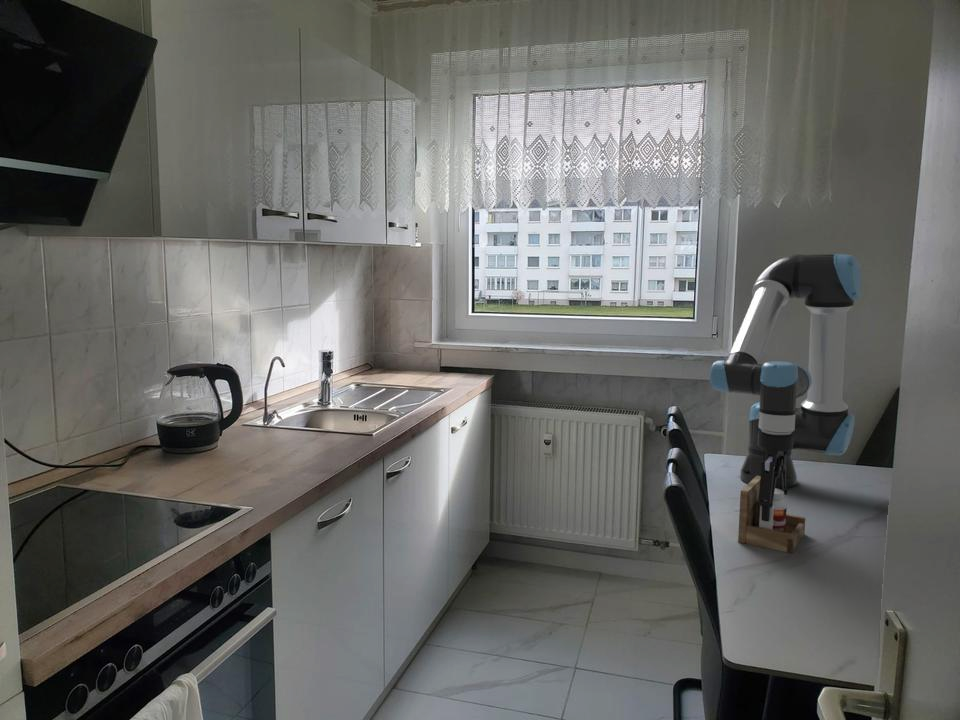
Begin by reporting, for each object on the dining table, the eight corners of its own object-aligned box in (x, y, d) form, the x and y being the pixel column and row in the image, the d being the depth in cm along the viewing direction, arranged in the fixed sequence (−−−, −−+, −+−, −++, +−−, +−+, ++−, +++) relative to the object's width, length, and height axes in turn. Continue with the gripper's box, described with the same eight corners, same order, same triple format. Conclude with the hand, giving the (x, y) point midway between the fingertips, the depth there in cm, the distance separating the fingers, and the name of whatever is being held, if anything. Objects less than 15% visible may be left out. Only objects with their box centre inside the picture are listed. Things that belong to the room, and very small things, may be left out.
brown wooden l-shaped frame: (754, 523, 174) (756, 475, 172) (804, 533, 167) (807, 483, 166) (738, 542, 162) (740, 490, 161) (791, 553, 156) (794, 500, 154)
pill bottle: (773, 544, 161) (776, 496, 160) (750, 535, 166) (752, 489, 165) (790, 538, 164) (793, 491, 163) (766, 530, 169) (769, 485, 168)
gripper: (770, 420, 173) (765, 511, 176) (745, 438, 155) (740, 538, 158) (803, 424, 168) (798, 517, 171) (782, 443, 151) (776, 546, 154)
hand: (770, 527), depth 165 cm, fingers open, 9 cm apart
